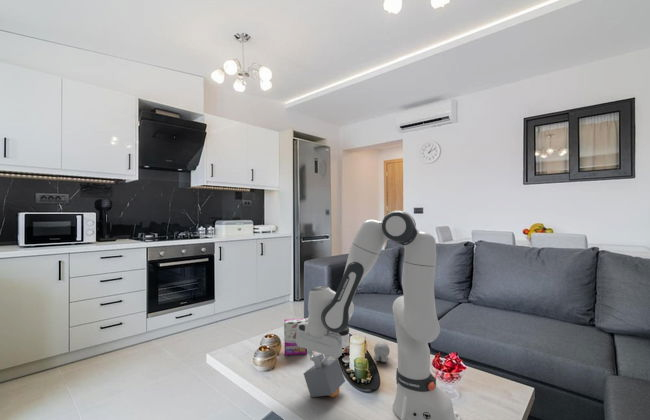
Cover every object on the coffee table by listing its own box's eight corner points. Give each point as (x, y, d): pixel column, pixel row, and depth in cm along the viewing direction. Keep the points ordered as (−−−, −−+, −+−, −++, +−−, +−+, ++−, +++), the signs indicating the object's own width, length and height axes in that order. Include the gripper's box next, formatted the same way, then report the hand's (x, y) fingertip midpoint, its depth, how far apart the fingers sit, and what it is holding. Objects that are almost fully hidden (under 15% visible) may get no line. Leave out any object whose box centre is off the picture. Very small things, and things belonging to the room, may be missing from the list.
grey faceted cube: (345, 381, 120) (334, 348, 123) (331, 394, 111) (320, 358, 114) (325, 384, 125) (314, 352, 128) (310, 397, 116) (300, 362, 119)
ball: (334, 393, 120) (343, 390, 118) (327, 401, 116) (337, 397, 113) (328, 381, 121) (337, 377, 119) (321, 388, 117) (330, 384, 115)
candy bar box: (306, 350, 155) (306, 318, 155) (307, 354, 150) (307, 321, 150) (284, 351, 153) (284, 318, 153) (284, 356, 148) (284, 322, 148)
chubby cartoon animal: (391, 362, 148) (393, 343, 151) (386, 363, 138) (388, 343, 141) (377, 359, 151) (379, 340, 154) (371, 360, 141) (373, 340, 144)
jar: (338, 356, 148) (338, 332, 148) (329, 350, 155) (329, 326, 155) (352, 352, 153) (353, 328, 153) (343, 345, 160) (343, 323, 160)
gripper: (345, 330, 118) (345, 366, 118) (303, 319, 129) (302, 352, 129) (337, 336, 112) (337, 373, 112) (293, 324, 123) (293, 358, 123)
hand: (318, 362), depth 121 cm, fingers open, 4 cm apart
